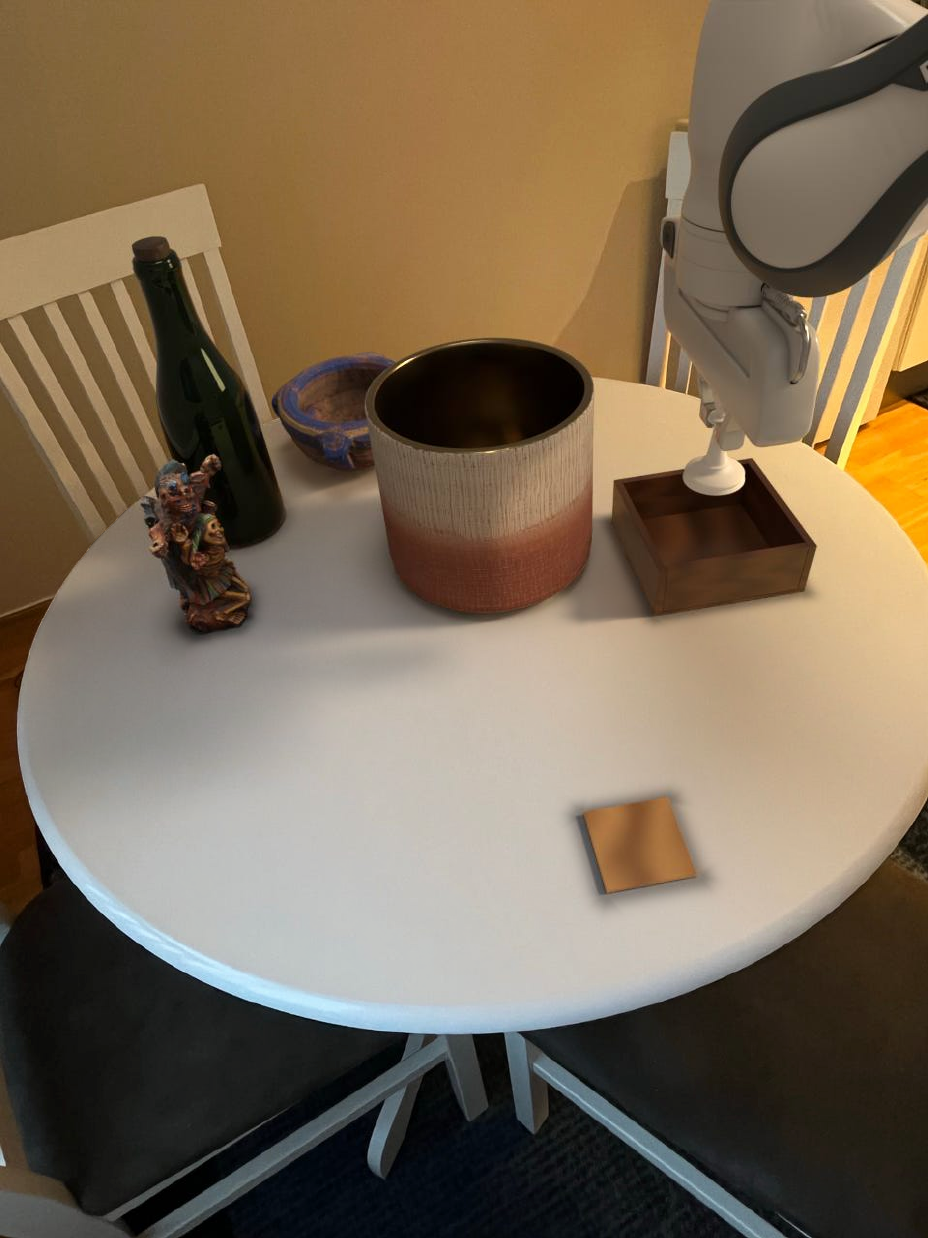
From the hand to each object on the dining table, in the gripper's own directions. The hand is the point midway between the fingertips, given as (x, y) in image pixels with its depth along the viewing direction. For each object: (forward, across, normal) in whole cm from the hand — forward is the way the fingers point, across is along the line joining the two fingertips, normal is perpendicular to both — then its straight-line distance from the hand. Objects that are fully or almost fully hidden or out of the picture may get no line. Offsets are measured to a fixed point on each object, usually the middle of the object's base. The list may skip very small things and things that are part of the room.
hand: (720, 433), depth 65 cm
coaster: (+22, -21, +12) cm, 33 cm away
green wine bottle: (+22, +30, +45) cm, 58 cm away
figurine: (+22, +14, +46) cm, 53 cm away
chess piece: (+4, 0, 0) cm, 4 cm away
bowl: (+22, +41, +30) cm, 55 cm away
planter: (+22, +17, +17) cm, 33 cm away
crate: (+22, +11, -5) cm, 26 cm away
